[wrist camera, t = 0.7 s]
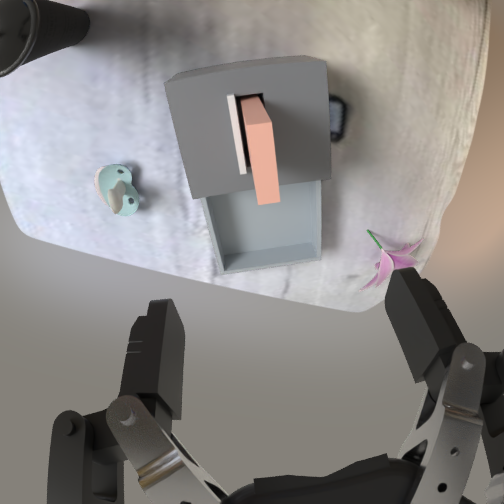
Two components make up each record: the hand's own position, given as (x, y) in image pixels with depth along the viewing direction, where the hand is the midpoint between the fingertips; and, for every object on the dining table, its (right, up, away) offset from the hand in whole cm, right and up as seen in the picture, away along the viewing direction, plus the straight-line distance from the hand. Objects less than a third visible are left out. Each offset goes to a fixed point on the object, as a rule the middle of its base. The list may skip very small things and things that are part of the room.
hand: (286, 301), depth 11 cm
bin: (0, +7, +31) cm, 31 cm away
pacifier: (-19, +11, +26) cm, 34 cm away
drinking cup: (-21, +27, +12) cm, 37 cm away
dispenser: (-2, +18, +22) cm, 28 cm away
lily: (+19, +3, +36) cm, 41 cm away
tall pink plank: (-1, +16, +19) cm, 25 cm away
